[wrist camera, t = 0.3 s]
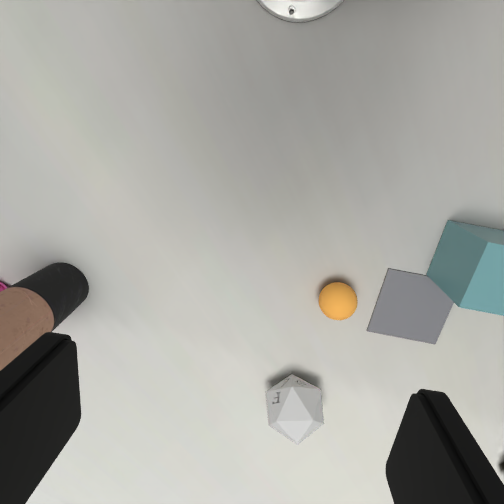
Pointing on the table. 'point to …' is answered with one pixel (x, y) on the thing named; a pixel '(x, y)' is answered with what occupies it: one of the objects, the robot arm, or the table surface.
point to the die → (294, 408)
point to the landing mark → (410, 307)
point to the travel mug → (38, 307)
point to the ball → (338, 301)
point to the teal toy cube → (470, 266)
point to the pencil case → (2, 287)
